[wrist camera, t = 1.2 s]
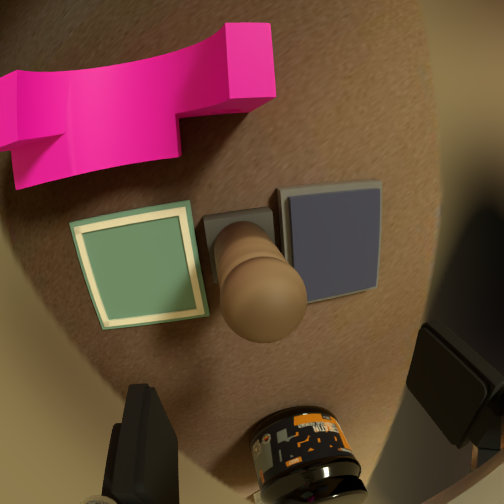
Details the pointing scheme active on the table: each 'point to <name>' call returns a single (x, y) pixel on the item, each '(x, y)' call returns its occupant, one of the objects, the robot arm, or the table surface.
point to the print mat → (142, 265)
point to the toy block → (130, 105)
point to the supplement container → (305, 459)
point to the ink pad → (332, 235)
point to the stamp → (253, 276)
